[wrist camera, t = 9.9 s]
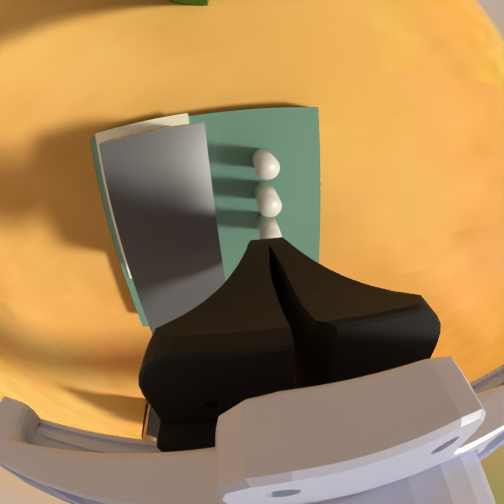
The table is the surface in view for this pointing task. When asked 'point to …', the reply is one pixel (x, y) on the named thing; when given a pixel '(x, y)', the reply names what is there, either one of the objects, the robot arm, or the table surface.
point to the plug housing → (165, 217)
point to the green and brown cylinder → (191, 2)
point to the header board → (246, 179)
